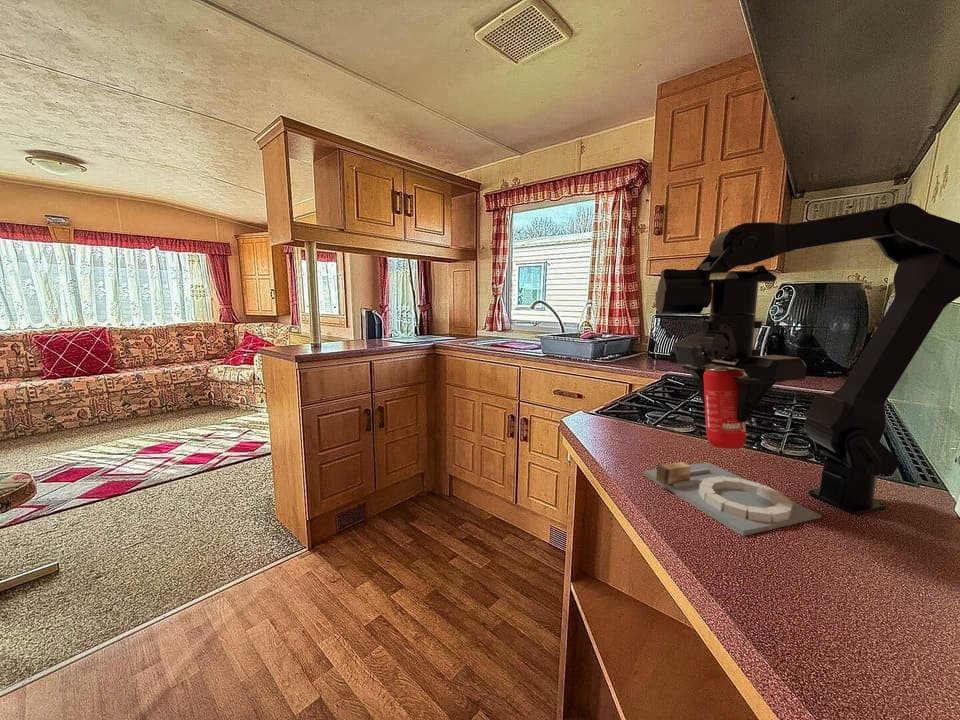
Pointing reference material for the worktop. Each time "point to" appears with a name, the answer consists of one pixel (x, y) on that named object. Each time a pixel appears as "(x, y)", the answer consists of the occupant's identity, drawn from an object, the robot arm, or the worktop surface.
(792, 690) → the worktop surface
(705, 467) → the dock board
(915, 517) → the worktop surface
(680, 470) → the bar
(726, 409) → the beverage can
